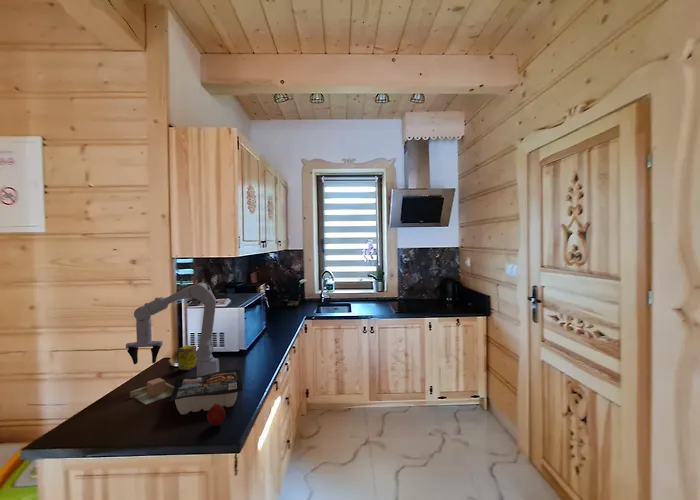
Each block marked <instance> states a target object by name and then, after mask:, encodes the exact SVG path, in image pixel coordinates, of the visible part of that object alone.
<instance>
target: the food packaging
mask: <svg viewBox="0 0 700 500" xmlns="http://www.w3.org/2000/svg"><path fill="white" fill-rule="evenodd" d="M174 383H175V384H174V385H173V386H174V389H173V392H172V396H170V399H169V401H168V402H172V401H174V402H175V406H176V409H177V411H178V412H179V414H180V415H187V414H189V413H190V412H192V413H196V412H199V411H200V412H201V410H203V411H204V412H205V411H207V412H208V411H209V410H210V408H211V407H212V406H214V404H215V403H218V404H219V405H221V406H222V407H223V408H224V407H226V408H230V407H233V406H234V405H235V403H236V401H237V397H238V393H240V392H243V380H242V371H241V369H227V370H221V371H219V372H216V373H212V374H207V375H203V376H198V377H197V376H193V377H182V378H181V377H180V378H179V377H177V378H176V379H175V382H174Z"/></svg>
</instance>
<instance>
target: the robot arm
mask: <svg viewBox="0 0 700 500" xmlns="http://www.w3.org/2000/svg"><path fill="white" fill-rule="evenodd" d="M191 297H192V298H194V299H196V300H198V301H200V302H201V304H202V305H204V306H203V307H204V308H203V314H202V315H203V316H202V325H201V330H200V331H201V333H200V340H199V343H198V348H197V349H196V377H198V376H203V375H207V374H212V373H216V372H220V360H219V358H217V357H214V356H213V354H212V353H213V351H214V348H215V347H214V345H213V330H214V323H215V315H216V314H215V313H216V306H217V299H216V297H215V295H214V293H213V291H212V288H211V287H210V286H209V285H208V284H207V283H205V282H198V283H196V284H191V285H190V286H186V287H184V288H182V289H180V290H179V291H176V292H174V293H173V294H171V295H169V296H167V297H162V296H160V297H158V296H156V297H154V300H152V301H150V302H145V303H144V305H141V306H139V307H137V308H136V309H135V310H134V312H133V317H134V319H136V321H135V322H136V324H135V325H136V326H135V327H136V330H135V331H136V341H135V342H128V343H126V344H125V349H126V350H127V353H128V355H130V358H131V360H132V363H133V365H137V364H138V363H139V362H138V361H139V360H138V359H139V357H138V353H139V348H150V352H151V364H155V363H156V362H157V358H158V353H159V351H160V349H161V348H162V346H163V341H162V340H161V341H160V340H152V339H153V338H152V337H153V336H152V333H153V332H152V316H154V315H156V314H159V313H160V312H163V311H164V310H166V309H168V307H169V305H170V304H171V303H173V302H176V301H178V300H180V299H183V298H191Z"/></svg>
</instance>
